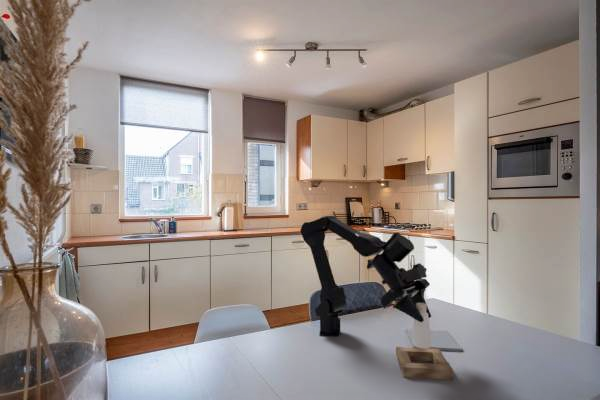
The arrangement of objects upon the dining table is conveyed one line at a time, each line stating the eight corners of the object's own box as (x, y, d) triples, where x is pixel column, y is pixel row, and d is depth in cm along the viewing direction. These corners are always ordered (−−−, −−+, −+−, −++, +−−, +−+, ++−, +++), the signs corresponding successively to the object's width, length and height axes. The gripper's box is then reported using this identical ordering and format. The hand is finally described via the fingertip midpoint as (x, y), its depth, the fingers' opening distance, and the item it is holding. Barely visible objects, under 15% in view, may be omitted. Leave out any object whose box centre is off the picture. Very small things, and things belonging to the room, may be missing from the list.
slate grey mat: (413, 349, 99) (413, 346, 99) (405, 331, 113) (405, 329, 113) (462, 351, 97) (462, 348, 97) (447, 333, 111) (447, 330, 111)
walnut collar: (403, 376, 83) (403, 367, 83) (395, 355, 95) (395, 346, 95) (452, 380, 82) (452, 369, 82) (439, 357, 93) (439, 348, 94)
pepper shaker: (435, 344, 89) (435, 303, 89) (427, 350, 85) (427, 308, 85) (416, 338, 92) (415, 299, 92) (407, 344, 88) (407, 303, 89)
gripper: (389, 258, 85) (431, 311, 77) (423, 251, 98) (461, 295, 90) (364, 283, 91) (400, 334, 83) (399, 273, 104) (433, 317, 96)
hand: (426, 319), depth 88 cm, fingers closed on pepper shaker, 4 cm apart
